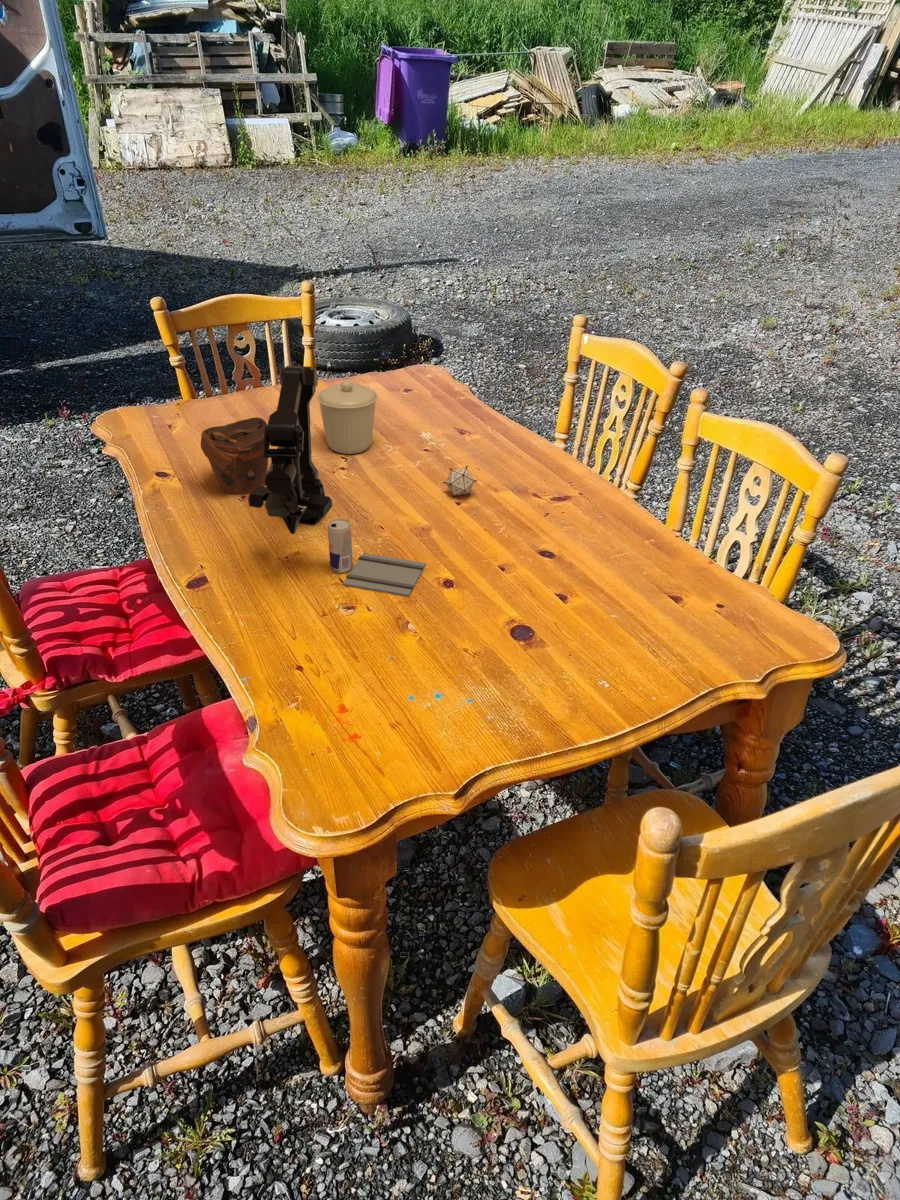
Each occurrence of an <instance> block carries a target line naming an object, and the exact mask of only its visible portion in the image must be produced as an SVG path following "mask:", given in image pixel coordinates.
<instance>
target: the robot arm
mask: <svg viewBox="0 0 900 1200" xmlns="http://www.w3.org/2000/svg"><path fill="white" fill-rule="evenodd" d="M318 378H319V375H318V371H317V370H314V369H313V366H301V365H298V366H297V365H287V366H284V367H281V368H280V369H279V385H281V386H280V391H279V396H278V403H277V406H276V410H275V411H274V412H272V413H271V414H269V417H268V421H267V425H265V433H264V458H268V459H269V458H270V460H271V463H270V466H269V469H267V475H266V478H265V486H264V487H263V486H258V487H257V488H256V489H255V490H254V491H253V492H251V493H249V494H248V497H247V503H248V506H249V507H253V508H258V509H261V508H262V507H263V506H264V508H265V510H266V513H267V516H269V517H276V518H279V519H282V520H283V522H284V523H285V525H286V527H287V530H288V531H289V533H290V535H295V534H296V532H297V529H298V526H299V523H300V524H306V525H313V526H315V525H317V523H318V522H319V520H321V518H325V517H326V516H327V514H328V513H329V511H330V510H331V509H332V507H333V500H332V498H331V497H330V496H328V495H326V494H325V493H326V492H325V488H324V484H323V482H322V480H321V479H320V478H319V470H318V468H317V467H316V465H315V464H314V463H313V459H312V438H311V435H312V434H311V433H312V432H311V407H310V406H311V401H312V399H313V397H314V396H315V394H316V391H317V390H316V387H318V384H319V379H318ZM269 442H270V446H269ZM270 447H277V448H270ZM264 502H265V503H264Z"/></svg>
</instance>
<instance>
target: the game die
mask: <svg viewBox="0 0 900 1200" xmlns="http://www.w3.org/2000/svg"><path fill="white" fill-rule="evenodd" d="M468 467H469V466H468V465H466V466H465V467H464V468H457V469H453V468H451V467H449V470H450V472H449V473H448V475H447V476H448V477H447V478H446V481H443V482H442V484H446V486H447V488H448V489H449V491H450V492H451V493H452V496H451V498H452V499H454V497H455V496H460V495H461V496H462V495H466V494H467V495H468V496H471V494H470V491H471V489H472V487H473V485H474V483H477V482H478V480H477V479H474V478H473V476H472V474H471V473H470V472H469V470H468Z"/></svg>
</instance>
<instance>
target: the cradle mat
mask: <svg viewBox="0 0 900 1200" xmlns="http://www.w3.org/2000/svg"><path fill="white" fill-rule="evenodd" d="M426 565H427V563H426V562H421V561H416V560H415V561H414V560H408V559H403V558H397V557H392V556H391V557H390V556H384V555H379V554H373V553H367V552H366V553H365V552H362V554H360V555H359V556H358V560H357V561H356V563H355V564H354V566H353V567H352V569H351V570H350V571H349V573H347V574H346V576H345V580H344V581H343V583H342V586H344V587H350V588H355V589H360V590H361V589H362V590H367V591H373V592H378V593H385V594H390V595H396V596H402V597H408V598H409V597H410V596H411V594H412V592H413V591H414V588H415V586H416V585H417V583H418V580H419V579H420V576H421V575H422V573H423V571H424V569H425V567H426Z"/></svg>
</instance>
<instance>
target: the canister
mask: <svg viewBox="0 0 900 1200" xmlns="http://www.w3.org/2000/svg"><path fill="white" fill-rule="evenodd" d="M378 398H379V396H378V394H377V392H376V391H375V390H373V389H371V388H369V387H367V386H365V385H361V384H356V383H353V382H352V381H351V380H348V379H347V380H343V381H342V382H340V383H338V384H333V385H330V386H328V387H326V388H324V389H322V390H320V391H319V392H318V393H317V394H316V400H317V402H318V403H319V406H320V407H319V409H320V413H321V419H322V426H323V430H324V435H325V440H326V443H327V445H328V446H329V448H330V449H331V450H333V451H334V452H336V453H340V454H343V455H344V454H345V455H350V454H352V455H353V454H358V453H362V452H364V451H366V450H368V448H369V447H370V446H371V444H372V441H373V432H374V425H375V424H374V423H375V413H376V411H375V410H376V402H377V400H378Z"/></svg>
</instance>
